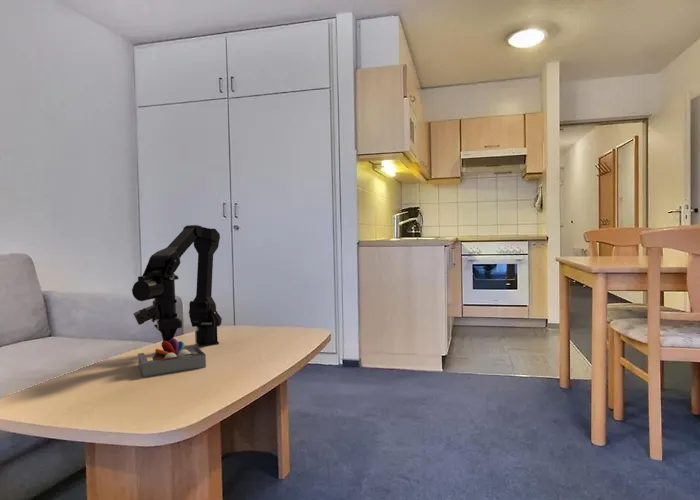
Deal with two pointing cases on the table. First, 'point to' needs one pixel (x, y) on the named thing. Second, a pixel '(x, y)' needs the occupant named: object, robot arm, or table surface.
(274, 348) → the table surface
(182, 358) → the tray
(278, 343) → the table surface
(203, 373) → the table surface
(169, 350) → the multicolored petal rattle
